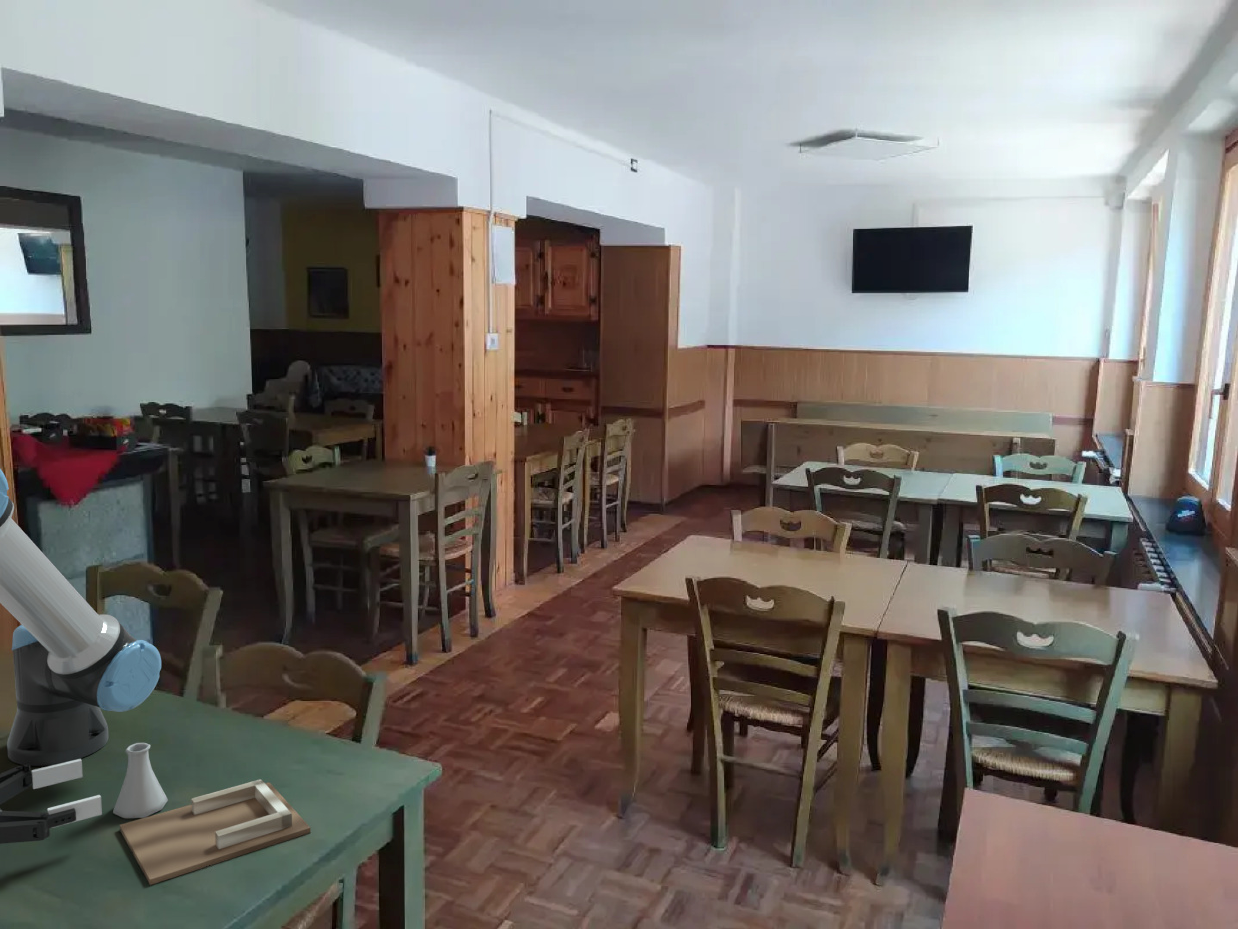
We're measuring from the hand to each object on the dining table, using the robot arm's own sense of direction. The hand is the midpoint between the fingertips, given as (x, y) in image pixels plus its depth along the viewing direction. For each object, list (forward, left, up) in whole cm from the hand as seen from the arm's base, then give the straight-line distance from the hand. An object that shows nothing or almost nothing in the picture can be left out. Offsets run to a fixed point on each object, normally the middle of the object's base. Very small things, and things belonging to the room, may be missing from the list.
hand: (91, 785), depth 140 cm
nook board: (+13, +14, -6) cm, 20 cm away
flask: (0, +7, -6) cm, 9 cm away
